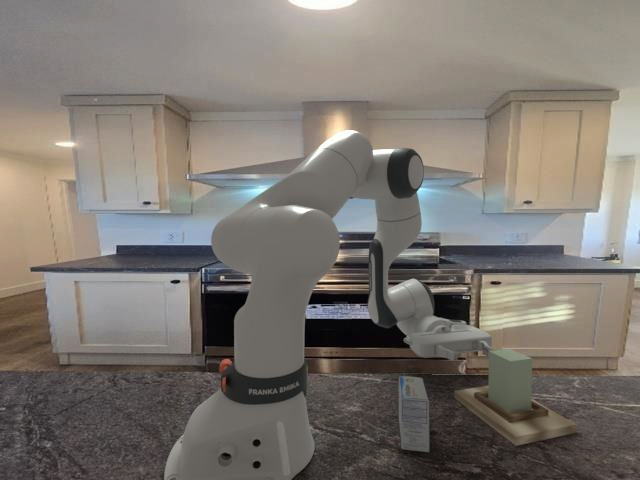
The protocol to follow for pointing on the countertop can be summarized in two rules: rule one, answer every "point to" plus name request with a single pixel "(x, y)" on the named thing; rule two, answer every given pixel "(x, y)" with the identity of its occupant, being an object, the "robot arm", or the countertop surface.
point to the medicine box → (413, 414)
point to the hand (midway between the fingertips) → (473, 354)
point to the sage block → (510, 380)
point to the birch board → (516, 418)
